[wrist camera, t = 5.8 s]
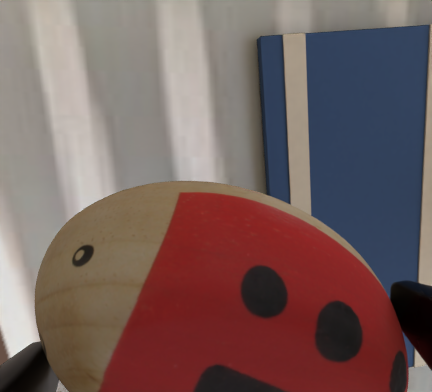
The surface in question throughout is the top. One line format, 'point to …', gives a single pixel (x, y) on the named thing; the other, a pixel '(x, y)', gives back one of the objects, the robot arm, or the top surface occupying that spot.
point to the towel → (355, 141)
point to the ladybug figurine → (212, 298)
